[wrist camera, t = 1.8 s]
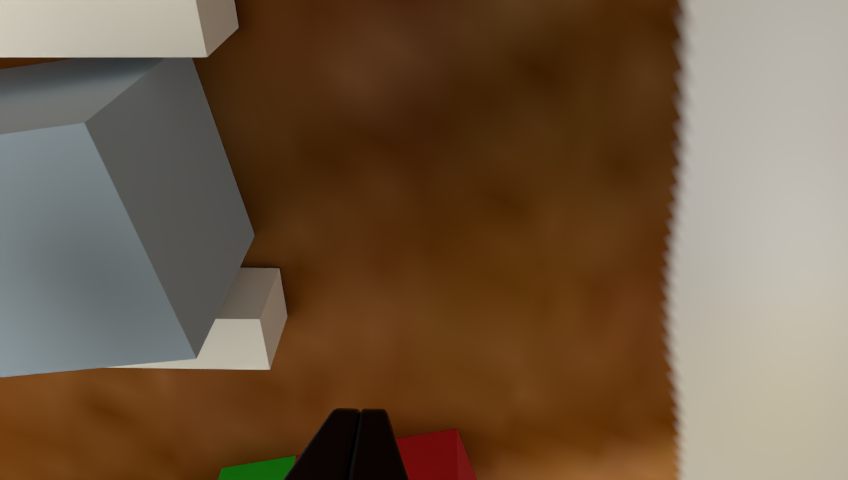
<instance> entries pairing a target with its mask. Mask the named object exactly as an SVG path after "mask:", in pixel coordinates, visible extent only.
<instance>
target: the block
mask: <svg viewBox="0 0 848 480" xmlns="http://www.w3.org/2000/svg"><path fill="white" fill-rule="evenodd" d="M254 236H255V234H254V232H253V229H252V226H251V223H250V220H249V217H248V215H247V212H246V209H245V206H244V203H243V201H242V198H241V195H240V192H239V189H238V186H237V184H236V181H235V178H234V175H233V172H232V170H231V167H230V164H229V161H228V158H227V155H226V153H225V150H224V147H223V144H222V141H221V139H220V136H219V133H218V130H217V127H216V124H215V122H214V119H213V116H212V113H211V110H210V108H209V105H208V102H207V99H206V96H205V93H204V91H203V88H202V85H201V82H200V79H199V77H198V74H197V71H196V68H195V65H194V62H193V60H192V57H79V58H73V59H66V60H59V61H53V62H46V63H39V64H33V65H26V66H20V67H13V68H6V69H0V377H8V376H19V375H30V374H40V373H51V372H61V371H72V370H83V369H93V368H104V367H114V366H125V365H135V364H146V363H157V362H167V361H178V360H188V359H197V357H198V355H199V353H200V351H201V348H202V346H203V344H204V342H205V340H206V338H207V336H208V334H209V331H210V329H211V327H212V325H213V323H214V321H215V319H216V317H217V315H218V312H219V310H220V308H221V306H222V304H223V302H224V300H225V298H226V296H227V293H228V291H229V289H230V287H231V285H232V283H233V281H234V279H235V276H236V274H237V272H238V270H239V268H240V266H241V264H242V262H243V260H244V257H245V255H246V253H247V251H248V249H249V247H250V245H251V243H252V241H253V238H254Z"/></svg>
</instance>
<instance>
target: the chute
mask: <svg viewBox="0 0 848 480" xmlns="http://www.w3.org/2000/svg"><path fill="white" fill-rule="evenodd" d="M238 28H239V25H238V19H237V13H236V7H235V2H234V0H0V57H208V56H209V55H210V54H211V53H212V52H213V51H214V50H216V49H217V48H218V47H219V46H220V45H221V44H222V43H223V42H224V41H225V40H226V39H227V38H228V37H229V36H230V35H232V34H233V33H234V32H235V31H236V30H237V29H238ZM286 319H287V311H286V305H285V299H284V293H283V287H282V281H281V275H280V269H279V268H239V270H238V272H237V274H236V276H235V279H234V281H233V283H232V285H231V287H230V289H229V291H228V293H227V296H226V298H225V300H224V302H223V304H222V306H221V308H220V310H219V312H218V315H217V317H216V319H215V321H214V323H213V325H212V327H211V329H210V331H209V334H208V336H207V338H206V340H205V342H204V344H203V346H202V348H201V351H200V353H199V355H198V357H197V359H188V360H178V361H167V362H157V363H146V364H135V365H125V366H114V367H108V368H177V369H247V370H270V368H271V365H272V362H273V359H274V356H275V353H276V350H277V347H278V344H279V340H280V337H281V334H282V331H283V328H284V325H285V322H286Z"/></svg>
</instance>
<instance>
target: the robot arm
mask: <svg viewBox="0 0 848 480" xmlns="http://www.w3.org/2000/svg"><path fill="white" fill-rule="evenodd" d="M283 480H409V478H408V475H407V472H406V469H405V466H404V463H403V460H402V457H401V454H400V450H399V447H398V444H397V441H396V438H395V435H394V432H393V429H392V426H391V423H390V419H389V416H388V413H387V412H386V410H384V409H363V410H362V411H361V412H360V411H359V410H358V409H351V408H338V409H335V410H333V411H332V412H331V414H330V415H329V416H328V418H327V419H326V420H325V422H324V423H323V425H322V426H321V427H320V429H319V430H318V432H317V433H316V434H315V436H314V437H313V439H312V440H311V441H310V443H309V444H308V446H307V447H306V448H305V450H304V451H303V453H302V454H301V455H300V457H299V458H298V459H297V461H296V462H295V464H294V465H293V466H292V468H291V469H290V471H289V472H288V473H287V475H286V476H285V478H284V479H283Z"/></svg>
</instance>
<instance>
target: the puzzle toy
mask: <svg viewBox="0 0 848 480" xmlns="http://www.w3.org/2000/svg"><path fill="white" fill-rule="evenodd" d="M396 441H397V444H398V447H399V450H400V454H401V457H402V460H403V463H404V466H405V469H406V472H407V475H408V478H409V480H477V479H476V477H475V474H474V471H473V469H472V466H471V463H470V461H469V458H468V456H467V453H466V450H465V448H464V445H463V443H462V440H461V437H460V435H459V432H458V430H457V429H451V430H445V431H439V432H433V433H427V434H422V435H416V436H410V437H404V438H398V439H396ZM299 457H300V455H297V456H291V457H285V458H279V459H273V460H267V461H261V462H255V463H249V464H244V465H238V466H232V467H226V468H222V469H221V472H220V475H219V478H218V480H283V479H284V478H285V476H286V475H287V473H288V472H289V471H290V469H291V468H292V466H293V465H294V464H295V462H296V461H297V459H298V458H299Z"/></svg>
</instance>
